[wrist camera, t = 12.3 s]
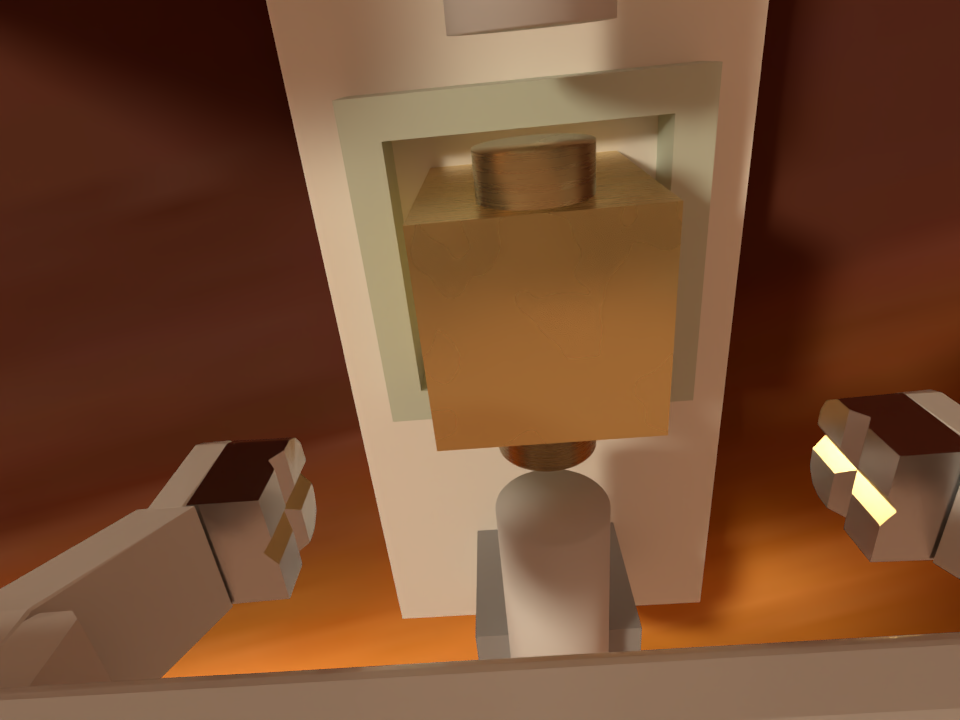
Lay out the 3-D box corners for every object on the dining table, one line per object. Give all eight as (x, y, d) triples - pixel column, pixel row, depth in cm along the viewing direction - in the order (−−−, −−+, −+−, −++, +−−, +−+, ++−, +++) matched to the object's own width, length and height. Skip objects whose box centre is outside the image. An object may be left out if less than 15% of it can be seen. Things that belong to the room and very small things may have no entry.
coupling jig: (688, 572, 25) (762, 761, 18) (406, 589, 26) (379, 778, 19) (800, -569, 11) (1265, -1484, 5) (183, -476, 12) (-209, -1160, 5)
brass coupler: (613, 351, 18) (665, 472, 13) (454, 363, 19) (442, 486, 13) (617, 109, 15) (687, 141, 10) (425, 128, 16) (393, 168, 10)
